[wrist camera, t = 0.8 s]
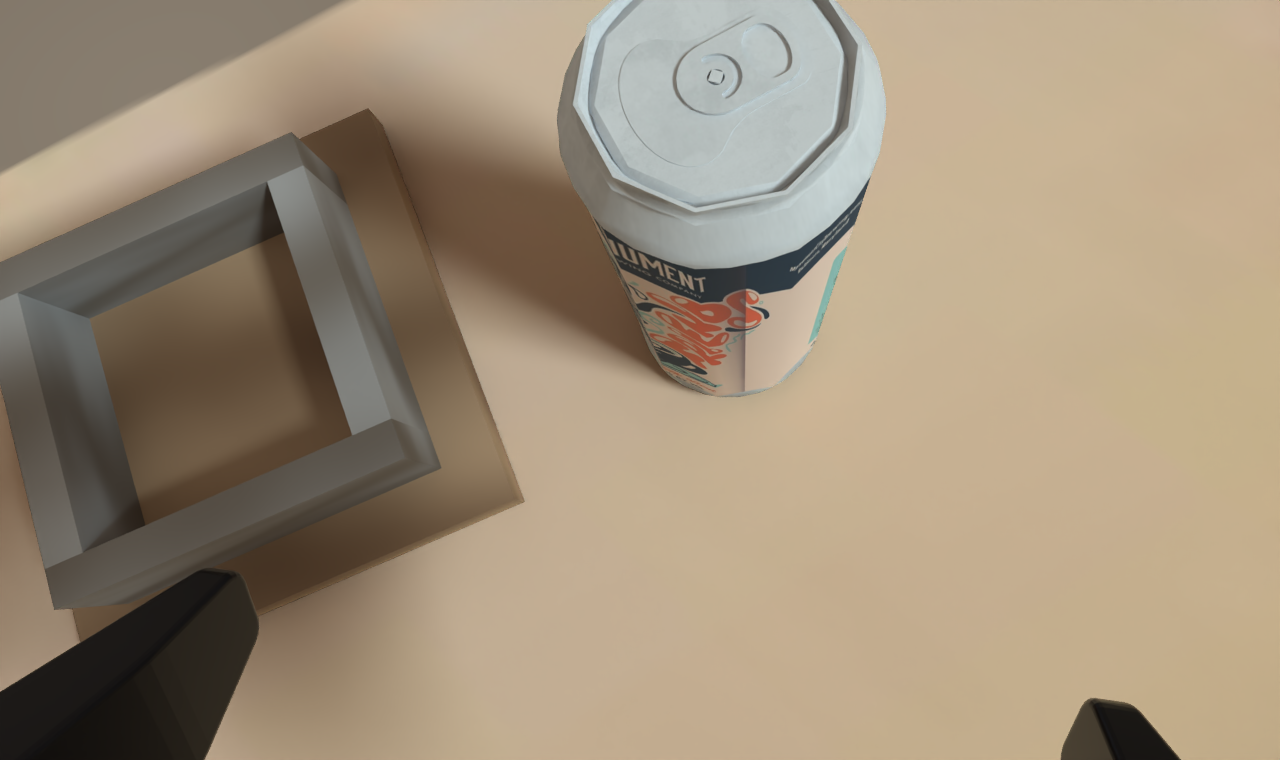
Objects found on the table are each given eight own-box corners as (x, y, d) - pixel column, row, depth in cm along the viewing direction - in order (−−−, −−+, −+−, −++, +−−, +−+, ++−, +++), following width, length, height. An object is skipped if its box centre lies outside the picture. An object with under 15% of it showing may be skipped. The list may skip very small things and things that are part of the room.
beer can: (611, 280, 24) (486, 21, 12) (765, 198, 24) (784, -139, 12) (693, 433, 23) (640, 307, 11) (853, 348, 23) (968, 133, 11)
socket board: (524, 501, 23) (486, 492, 20) (117, 676, 23) (10, 697, 20) (382, 125, 26) (327, 59, 22) (19, 287, 26) (-90, 247, 23)
